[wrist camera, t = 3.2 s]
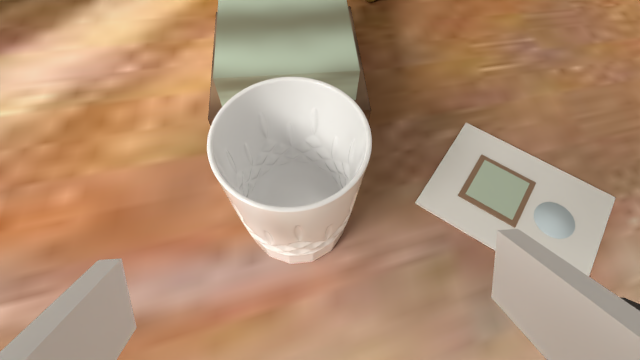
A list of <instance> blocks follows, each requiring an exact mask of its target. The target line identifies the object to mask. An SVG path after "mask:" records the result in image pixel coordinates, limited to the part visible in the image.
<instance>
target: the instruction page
mask: <svg viewBox="0 0 640 360" xmlns="http://www.w3.org/2000/svg"><path fill="white" fill-rule="evenodd" d="M615 198H616V197H614V196H612V195H610V194H608V193H606V192H604V191H602V190H600V189H598V188H596V187H594V186H592V185H590V184H588V183H586V182H584V181H582V180H580V179H578V178H576V177H574V176H572V175H570V174H568V173H566V172H564V171H562V170H560V169H558V168H556V167H554V166H552V165H550V164H548V163H546V162H544V161H542V160H540V159H538V158H536V157H534V156H532V155H530V154H528V153H526V152H524V151H522V150H520V149H518V148H516V147H514V146H512V145H510V144H508V143H506V142H504V141H502V140H500V139H498V138H496V137H494V136H492V135H490V134H488V133H486V132H484V131H482V130H480V129H478V128H476V127H474V126H472V125H470V124H468V123H465V125H464V127H463V128H462V130H461V131H460V133H459V134H458V136H457V138H456V139H455V141H454V142H453V144H452V145H451V147H450V149H449V150H448V152H447V153H446V155H445V156H444V158H443V160H442V161H441V163H440V164H439V166H438V167H437V169H436V171H435V172H434V174H433V175H432V177H431V179H430V180H429V182H428V183H427V185H426V186H425V188H424V190H423V191H422V193H421V194H420V196H419V197H418V199H417V201H416V202H415V204H417V205H418V206H420V207H422V208H423V209H425V210H427V211H428V212H430V213H432V214H433V215H435V216H437V217H439V218H440V219H442V220H444V221H445V222H447V223H449V224H450V225H452V226H454V227H456V228H457V229H459V230H461V231H462V232H464V233H466V234H467V235H469V236H471V237H473V238H474V239H476V240H478V241H479V242H481V243H483V244H484V245H486V246H488V247H489V248H491V249H493V250H495V251H496V239H497V230H508V229H519V230H521V231H522V232H524V233H525V234H527V235H528V236H530V237H531V238H533V239H534V240H535V241H537V242H538V243H540V244H541V245H543V246H544V247H546V248H547V249H549V250H550V251H552V252H553V253H555V254H556V255H558V256H559V257H561V258H562V259H564V260H565V261H567V262H568V263H569V264H571V265H572V266H574V267H575V268H577V269H578V270H580V271H581V272H583V273H584V274H586V275H587V276H589V275H590V272H591V269H592V266H593V263H594V260H595V257H596V254H597V251H598V248H599V245H600V242H601V240H602V237H603V234H604V231H605V228H606V225H607V222H608V219H609V216H610V213H611V210H612V207H613V204H614V201H615Z"/></svg>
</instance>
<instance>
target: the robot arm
mask: <svg viewBox="0 0 640 360" xmlns="http://www.w3.org/2000/svg"><path fill="white" fill-rule="evenodd" d="M491 298H492V299H493V300H494V301H495V302H496V303H497V305H498V306H499V307H500V308H501V309H502V310H503V311H504V312H505V313H506V315H507V316H508V317H509V318H510V319H511V320H512V321H513V322H514V324H515V325H516V326H517V327H518V328H519V329H520V330H521V331H522V332H523V334H524V335H525V336H526V337H527V338H528V339H529V340H530V341H531V343H532V344H533V345H534V346H535V347H536V348H537V349H538V350H539V351H540V353H541V354H542V355H543V356H544V357H545V358H546V359H547V360H640V304H638V303H635V302H633V301H631V300H628V299H626V298H624V297H623V298H620V297H618V296H617V295H615V294H614V293H612V292H611V291H609V290H608V289H606V288H605V287H603V286H602V285H601V284H599V283H598V282H596V281H595V280H593V279H592V278H590V277H589V276H587V275H586V274H584V273H583V272H581V271H580V270H578V269H577V268H575V267H574V266H572V265H571V264H569V263H568V262H567V261H565V260H564V259H562V258H561V257H559V256H558V255H556V254H555V253H553V252H552V251H550V250H549V249H547V248H546V247H544V246H543V245H541V244H540V243H538V242H537V241H535V240H534V239H533V238H531V237H530V236H528V235H527V234H525V233H524V232H522V231H521V230H519V229H508V230H497V239H496V251H495V262H494V273H493V285H492V296H491ZM135 329H136V323H135V319H134V314H133V310H132V305H131V300H130V296H129V291H128V287H127V282H126V277H125V273H124V268H123V264H122V259H109V260H98V261H97V262H96V263H95V264H94V265H93V266H92V267H90V268H89V269H88V270H87V271H86V272H85V273H84V274H83V275H82V276H81V277H80V278H79V279H78V280H77V281H75V282H74V283H73V284H72V285H71V286H70V287H69V288H68V289H67V290H66V291H65V292H64V293H63V294H62V295H60V296H59V297H58V298H57V299H56V300H55V301H54V302H53V303H52V304H51V305H50V306H49V307H48V308H47V309H45V310H44V311H43V312H42V313H41V314H40V315H39V316H38V317H37V318H36V319H35V320H34V321H33V322H32V323H30V324H29V325H28V326H27V327H26V328H25V329H24V330H23V331H22V332H21V333H20V334H19V335H18V336H17V337H15V338H14V339H13V340H12V341H11V342H10V343H9V344H8V345H7V346H6V347H5V348H4V349H3V350H2V351H0V360H116V359H117V358H118V356H119V355H120V353H121V352H122V350H123V348H124V347H125V345H126V344H127V342H128V340H129V339H130V337H131V336H132V334H133V332H134V331H135Z"/></svg>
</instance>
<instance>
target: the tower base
mask: <svg viewBox="0 0 640 360" xmlns="http://www.w3.org/2000/svg"><path fill="white" fill-rule="evenodd" d="M279 77H305V78H311V79H315V80H319V81H322V82H325V83H328V84H330V85H332V86H334V87H336V88H338V89H340V90H341V91H343V92H344V93H346V94H347V95H348V96H349V97H351V98H352V99H353V100H354V101H355V102H356V103H357V104H358V106H359V107H360V108H361V110H362V111H363V113H364V115H365V116H366V118H367V121H369V116H370V111H371V108H370V103H369V98H368V93H367V88H366V83H365V78H364V73H363V68H362V63H361V58H360V53H359V48H358V42H357V37H356V32H355V27H354V22H353V17H352V12H351V7H350V6H348V5H347V0H218V12H216V21H215V34H214V48H213V61H212V74H211V87H210V101H209V114H208V120H209V123H210V125H211V124H212V122H213V120H214V118H215V116H216V115H217V113H218V112H219V110H220V109H221V108H222V107H223V105H224V104H225V103H226V102H227V101H228V100H229V99H231V98H232V97H233V96H234V95H236V94H237V93H238V92H240V91H241V90H243V89H245V88H247V87H249V86H251V85H253V84H256V83H258V82H261V81H264V80H268V79H273V78H279Z"/></svg>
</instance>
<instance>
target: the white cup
mask: <svg viewBox="0 0 640 360" xmlns="http://www.w3.org/2000/svg"><path fill="white" fill-rule="evenodd" d="M371 150H372V136H371V130H370V126H369V123H368V121H367V118H366V116H365V115H364V113H363V111H362V110H361V108H360V107H359V106H358V104H357V103H356V102H355V101H354V100H353V99H352V98H351V97H349V96H348V95H347V94H346V93H344V92H343V91H341V90H340V89H338V88H336V87H334V86H332V85H330V84H328V83H325V82H322V81H319V80H315V79H311V78H305V77H279V78H273V79H268V80H264V81H261V82H258V83H256V84H253V85H251V86H249V87H247V88H245V89H243V90H241V91H240V92H238V93H237V94H236V95H234V96H233V97H232V98H231V99H229V100H228V101H227V102H226V103H225V104H224V105H223V107H222V108H221V109H220V110H219V112H218V113H217V115H216V116H215V118H214V120H213V122H212V124H211V127H210V130H209V134H208V139H207V153H208V159H209V163H210V166H211V168H212V171H213V173H214V174H215V176H216V178H217V180H218V181H219V183H220V185H221V186H222V188H223V190H224V192H225V193H226V195H227V197H228V199H229V200H230V202H231V204H232V206H233V208H234V209H235V211H236V213H237V215H238V216H239V218H240V219H241V221H242V222H243V224H244V226H245V227H246V229H247V230H248V231H249V233H250V234H251V235H252V237H253V238H254V240H255V242H256V243H257V244H258V245H259V246H260V247H261V248H262V249H263V250H264V251H265V252H266V253H267V254H268V255H269V256H270V257H272V258H275V259H278V260H281V261H283V262H286V263H289V264H295V263H305V262H313V261H315V260H316V259H318V258H320V257H321V256H323V255H325V254H326V253H328V252H330V251H331V250H332V249H333V248H334V246H335V244H336V243H337V241H338V240H339V238H340V237H341V235H342V233H343V231H344V228H345V226H346V224H347V222H348V219H349V217H350V215H351V211H352V209H353V206H354V204H355V201H356V198H357V195H358V192H359V189H360V186H361V183H362V180H363V177H364V174H365V171H366V168H367V165H368V162H369V159H370V155H371Z"/></svg>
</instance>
